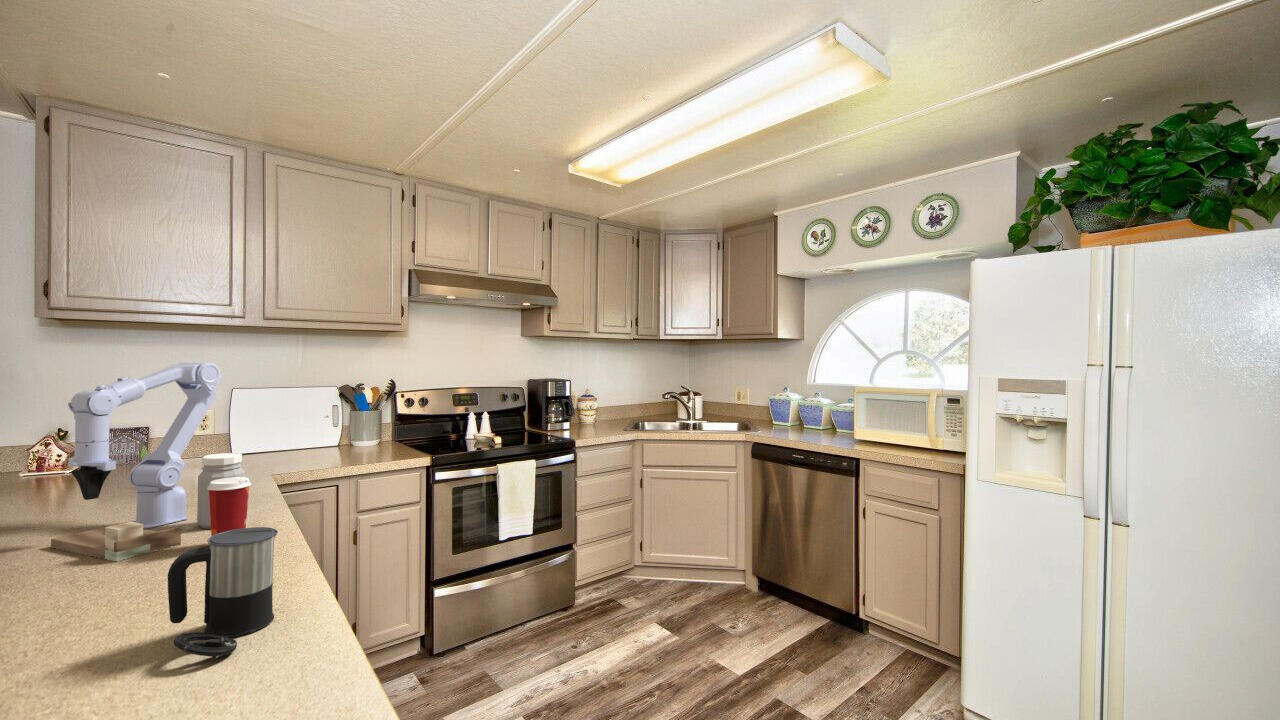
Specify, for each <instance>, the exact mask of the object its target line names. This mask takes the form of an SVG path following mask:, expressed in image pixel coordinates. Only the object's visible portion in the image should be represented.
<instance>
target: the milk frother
mask: <svg viewBox="0 0 1280 720" xmlns="http://www.w3.org/2000/svg"><path fill="white" fill-rule="evenodd" d="M278 532H279V531H278V530H277V529H275V528H273V527H267V526H266V527H265V526H260V527H259V526H257V527H256V526H254V527H246V528H243V529H236V530H230V531H226V532H222V533H218V534H216V535H213V536H210V537H209V538H207V543H209V545H205V546H199V547H194V548H191V549H188V550H186V551H184V552H183V553H181V554H180V555H179V556H177V557H176V558H175V559H174V561H173V562H172V564H171V565H170V567H169V569H168V572H167V595H168V598H167V599H168V611H169V612H168V613H169V620H170V622H171V623H172V624H180V623H182V622H183V621H184V620H185V618H186V617H187V615H188V597H187V596H188V592H187V591H188V589H187V588H188V587H187V570H188V568H189V567H190V566H191V565H192V564H193V565H194V564H196V563H203V562H205V563H206V564H205V565H206V566H205V582H204V612H203V613H204V614H203V615H204V616H203V617H204V619H203V622H204V624H205V627H204V630H203V631H202V632H200V631H199V632H197V631H196V632H189V633H186V632H184V633H181V634H178V635H177V636H176V637H175V638H174V639H173V641H172V644H173V646H174V647H175V648H177V649H178V650H181V651H182V652H185V653H188V654H190V655H195V656H201V657H211V658H213V660H216V659H217V657H223V656H225V655H226V656H227V655H230V654H231V653H233V652H234V651H236V649H237V647H238V646H237V645H238V643H237V640H235V639H234V638H235V637H240V635H241V636H244V634H245V635H248V634H251V633H254V632H256V630H257V631H259V630H261V629H263V628H266V627H267V626H269V625H270V624H271V623H272V622H273V621H274V619H275V615H274V611H273V586H274V585H273V580H274V555H275V554H274V553H275V540H276V539H275V538H276V536H277V534H279V533H278ZM270 622H271V623H270ZM269 623H270V624H269ZM266 625H267V626H266ZM258 629H259V630H258ZM247 633H248V634H247ZM228 637H229V638H228Z"/></svg>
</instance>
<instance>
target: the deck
mask: <svg viewBox="0 0 1280 720" xmlns="http://www.w3.org/2000/svg"><path fill="white" fill-rule="evenodd" d="M114 525H118V523H117V524H112V525H111V526H114ZM109 526H110V525H108V526H104V527H99V528H94V529H89V530H85V531H81V532H76V533H72V534H67V535H63V536H62V535H61V536H58V537H53V538H51V539H50V548H51V549H54V548H56V549H55V550H59V549H61V550H60V551H64V550H66V551H65V552H68V551H70V552H69V553H73V552H75V553H74V554H78V553H79V554H78V555H82V554H84V556H87V555H88V557H91V556H94V557H93V558H96V557H98V558H97V559H101V558H103V559H102V560H105V559H108V560H107V561H110V560H113V561H112V562H115V561H118V562H121V561H120V560H122V561H124V560H123V559H125V560H128V559H127V558H129V559H131V557H133V558H135V557H134V556H136V557H140V556H143V555H142V554H144V555H146V554H145V553H147V554H150V553H149V552H151V553H154V552H157V551H156V550H158V551H161V550H160V549H162V550H164V549H163V548H165V549H169V548H172V547H171V546H173V547H176V546H180V545H181V544H182V542H181V541H182V539H181V538H182V535H181V534H182V528H181V526H175V527H171V528H168V529H167V528H166V529H163V530H159V531H156V530H150V529H145V528H144V529H143V535H142V536H138V537H134V538H130V539H126V540H122V541H118V542H114V550H111V549H107V548H105V527H109ZM168 547H169V548H168ZM153 551H154V552H153ZM139 555H140V556H139Z"/></svg>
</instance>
